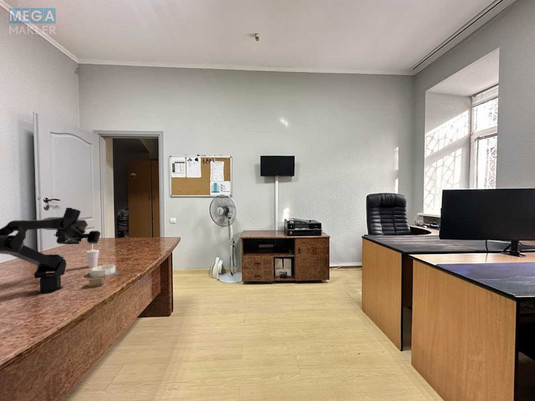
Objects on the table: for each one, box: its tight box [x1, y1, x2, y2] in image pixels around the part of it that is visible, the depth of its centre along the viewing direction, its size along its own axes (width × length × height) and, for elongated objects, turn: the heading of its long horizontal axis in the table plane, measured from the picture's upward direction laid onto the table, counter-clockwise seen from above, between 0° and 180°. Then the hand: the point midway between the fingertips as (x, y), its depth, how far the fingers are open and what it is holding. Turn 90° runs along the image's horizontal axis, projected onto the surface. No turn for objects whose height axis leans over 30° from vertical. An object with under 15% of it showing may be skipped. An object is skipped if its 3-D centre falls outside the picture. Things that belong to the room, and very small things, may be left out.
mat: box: [87, 268, 119, 280], centre depth 126 cm, size 12×12×1 cm
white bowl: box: [89, 264, 116, 276], centre depth 126 cm, size 11×11×3 cm
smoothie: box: [85, 244, 100, 269], centre depth 138 cm, size 6×6×14 cm
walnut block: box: [88, 275, 107, 288], centre depth 109 cm, size 5×5×4 cm
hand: (88, 243), depth 130 cm, fingers open, 9 cm apart
